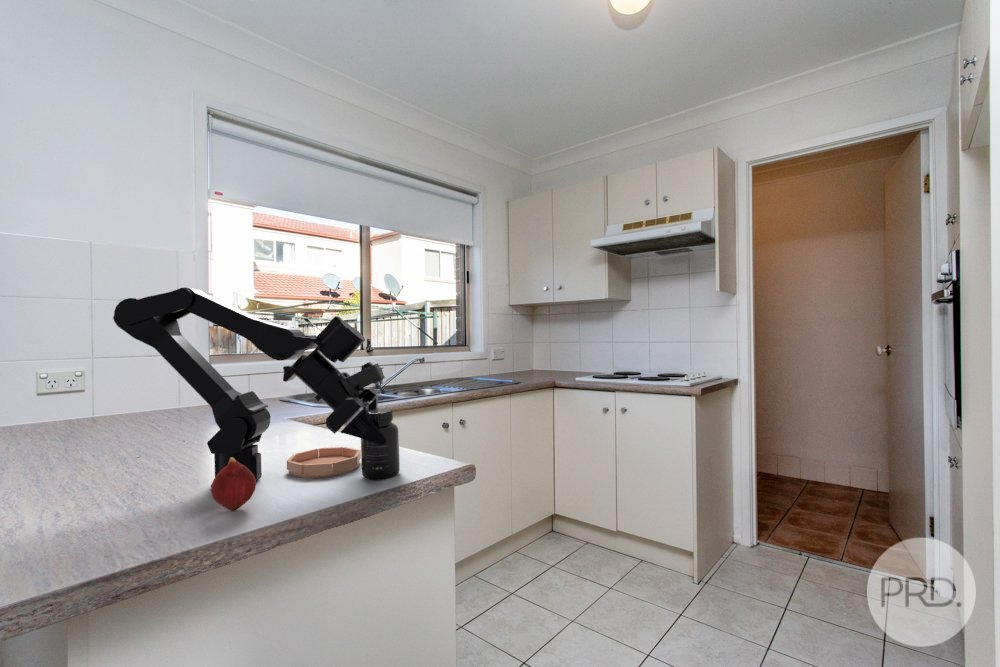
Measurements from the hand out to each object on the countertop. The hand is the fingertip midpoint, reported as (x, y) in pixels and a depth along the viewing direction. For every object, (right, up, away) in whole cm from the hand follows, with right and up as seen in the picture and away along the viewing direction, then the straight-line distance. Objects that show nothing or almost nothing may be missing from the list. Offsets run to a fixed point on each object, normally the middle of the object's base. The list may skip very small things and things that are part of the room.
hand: (387, 438), depth 88 cm
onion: (-19, -8, -16) cm, 26 cm away
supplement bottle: (-1, -7, 0) cm, 7 cm away
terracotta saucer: (-14, -7, +6) cm, 17 cm away
